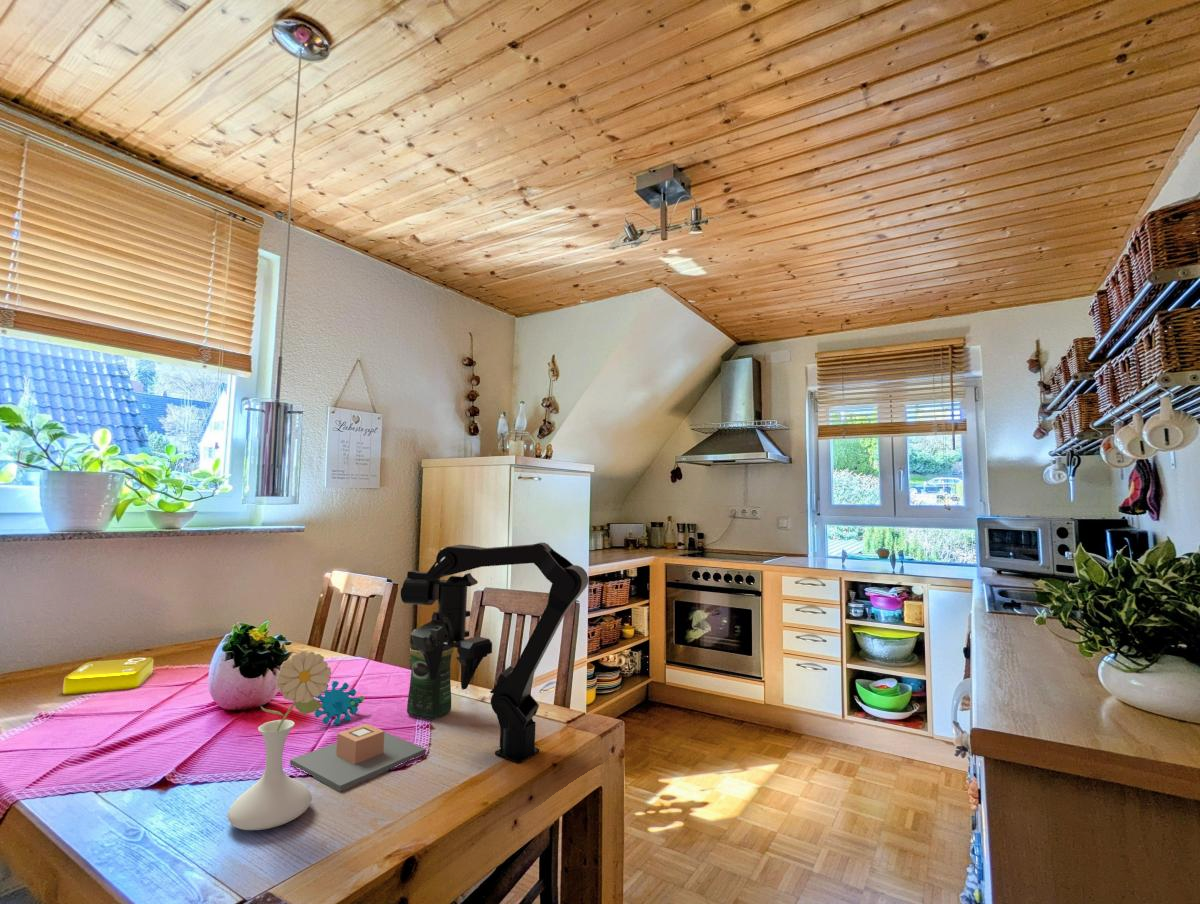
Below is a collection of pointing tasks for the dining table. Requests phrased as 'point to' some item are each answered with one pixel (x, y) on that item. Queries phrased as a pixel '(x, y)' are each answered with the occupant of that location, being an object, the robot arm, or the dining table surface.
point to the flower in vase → (275, 790)
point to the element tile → (108, 675)
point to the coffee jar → (429, 686)
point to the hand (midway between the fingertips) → (448, 684)
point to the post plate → (347, 774)
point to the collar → (360, 744)
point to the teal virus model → (338, 703)
